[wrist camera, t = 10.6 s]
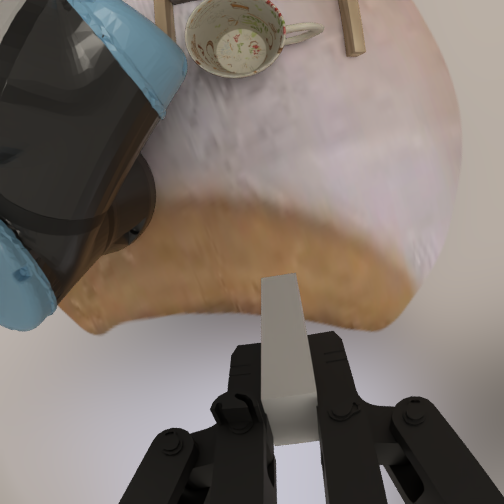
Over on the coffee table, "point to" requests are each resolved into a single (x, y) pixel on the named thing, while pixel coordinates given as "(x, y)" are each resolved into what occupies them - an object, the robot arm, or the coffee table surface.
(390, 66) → the coffee table surface
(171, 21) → the bay
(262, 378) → the robot arm
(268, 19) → the mug
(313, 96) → the coffee table surface
